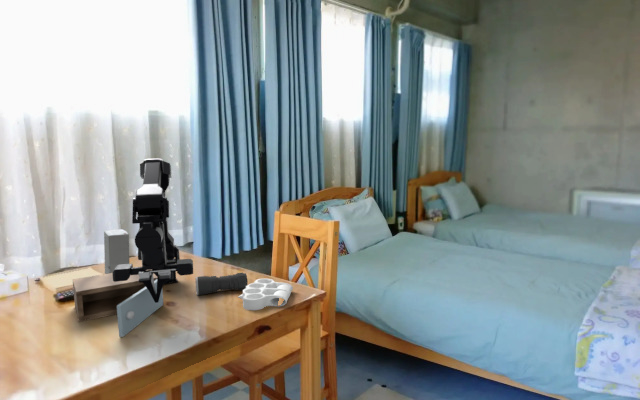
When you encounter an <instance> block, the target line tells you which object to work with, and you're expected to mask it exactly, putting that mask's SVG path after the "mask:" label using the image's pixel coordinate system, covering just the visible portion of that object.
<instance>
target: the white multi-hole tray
mask: <svg viewBox="0 0 640 400" xmlns="http://www.w3.org/2000/svg"><path fill="white" fill-rule="evenodd" d="M293 289H294V287H293V285H292V284H290V283H287V282H283V281H282V282H277V281H274V279H272V278H258V279H255V280H254V282H251V283H249V284H247V286H246V288H245V289H244V290H242V294H240V295H239V296H237V298H239V299H241V300H242V307H243V309H244V310H247V311H258V310H262V309H265V308H266V306H267V307H278V306H277V305H278V301H279V298H282V299H284V301H283V303H282V304H281V305H280V306H279V307H283V306H285V305H286V304H287V303H288V300H289V298H290V296H291V294H292V291H293ZM264 307H265V308H264Z"/></svg>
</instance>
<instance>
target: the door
mask: <svg viewBox="0 0 640 400" xmlns="http://www.w3.org/2000/svg"><path fill="white" fill-rule="evenodd" d="M154 284H155V290H156V293H157V280H155V281H154ZM163 293H164V292H163V289H162V290H161V294H160V298H159V302H158V303H155V302H154V300H153V298H152V296H151V294H150V292H149V290H148V289H147V288H146V287H144V288H143V289H141V290H140V291H138V292H137V293H135V294H134V295H132V296H131V297H129V298H128V299H126V300H125V301H123V302H122V303H120V304H119V305H117V314H116V315H117V328H118V337H120V338H121V337H123V338H124V337H125V336H126V335H127V334H128V333H130V332H132V331H133V330H134V329H135V328H137V326H138V325H140V324H142V322H143V321H145V320H146V319H147V318H148V317H150V316H151V315H152V314H154V313H155V312H156V311H157V310H159V308H161V307H162V306H164V294H163Z"/></svg>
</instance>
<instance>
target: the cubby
mask: <svg viewBox="0 0 640 400" xmlns="http://www.w3.org/2000/svg"><path fill="white" fill-rule="evenodd" d="M153 278H154V281H155V280H157V278H158V277H157V276H156V275H155V274H154V273H153ZM144 287H146V286H145V285H144V283H142V282H141V283H140V282H139V275H130V278H129V279H128V280H127V281H117V282H114V281H113V273H109V274H105V273H104V274H98V275H97V274H96V275H92V276H85V277H79V278H73V279H72V289H73V290H72V291H73V299H74V307H75V312H76V315H77V320H78V322H79V323H80V322H84V321H89V320H95V319H99V318H103V317H108V316H113V315H117V305H119V304H120V303H122V302H123V301H125V300H126V299H128V298H129V297H131V296H132V295H134V294H135V293H137V292H138V291H140V290H141V289H143V288H144Z"/></svg>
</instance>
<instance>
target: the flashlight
mask: <svg viewBox="0 0 640 400" xmlns="http://www.w3.org/2000/svg"><path fill="white" fill-rule="evenodd" d="M247 285H248V276H247V273H246V272H245V273H244V272H236V273H235V274H230V275H229V274H228V275H221V276H219V277H218V276H217V275H211V276H209V275H208V276H207V275H202V276H195V292H196V296H200V295H201V296H202V295H208V294H211V293H213V294H214V293H217V292H218V291H227V290H229V291H232V290H235V291H236V290H237V291H243V290H244V289H246V286H247Z"/></svg>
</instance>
